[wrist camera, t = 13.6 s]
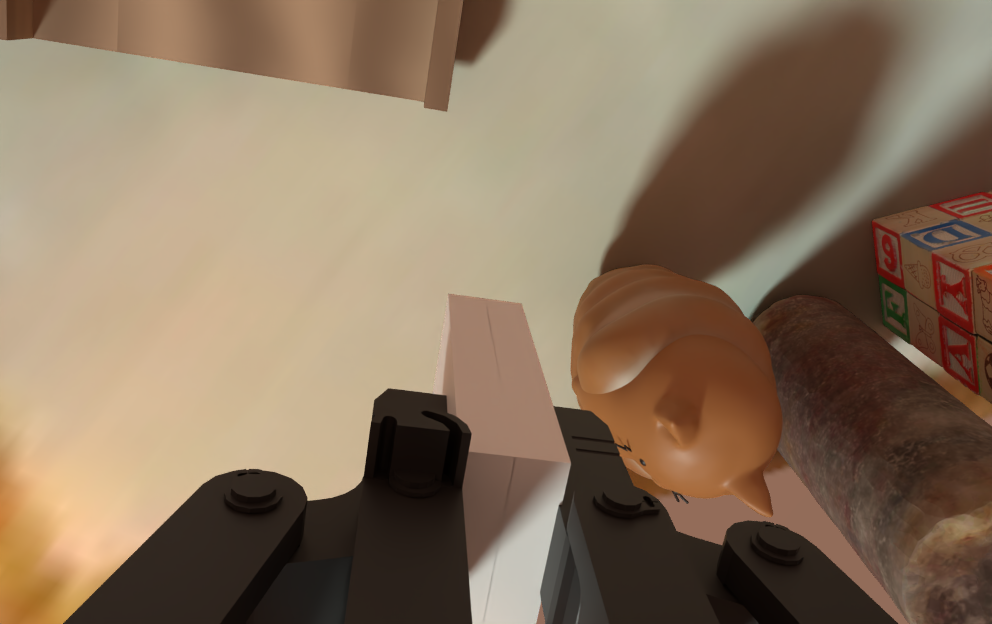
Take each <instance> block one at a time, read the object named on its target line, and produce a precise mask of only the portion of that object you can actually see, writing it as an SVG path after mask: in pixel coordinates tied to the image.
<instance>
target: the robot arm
mask: <svg viewBox="0 0 992 624" xmlns="http://www.w3.org/2000/svg"><path fill="white" fill-rule="evenodd" d="M614 442H615V441H614V438H613V436H612V434H611V431H610V429H609V427H608V425H607V424H606V423H604V422H603V421H602V420H601V419H600V418H599V417H597V416H596V415H595V414H594V413H593V412H592V411H588V410H580V409H571V408H563V407H555V406H553V404H552V400H551V397H550V394H549V391H548V387H547V384H546V381H545V378H544V375H543V371H542V368H541V365H540V362H539V358H538V355H537V352H536V349H535V346H534V342H533V339H532V336H531V333H530V329H529V326H528V323H527V320H526V317H525V313H524V310H523V307H522V304H521V303H513V302H506V301H499V300H491V299H484V298H477V297H469V296H462V295H454V294H448V299H447V305H446V311H445V318H444V324H443V331H442V337H441V343H440V350H439V356H438V363H437V369H436V375H435V382H434V388H433V394H430V393H422V392H414V391H405V390H397V389H387V390H386V391H385V392H384V393H382V394H381V395H380V396H379V397H378V398H376V399H375V400H374V407H373V415H372V421H371V427H370V434H369V442H368V449H367V457H366V464H365V472H364V476H363V479H362V481H361V482H360V483H359V485H358V486H357V487H356V488H354V489H353V490H351V491H349V492H347V493H345V494H343V495H340V496H336V497H333V498H328V499H321V500H313V501H307V496H306V494H305V491H304V489H303V487H302V486H300V485H299V484H298V483H297V482H295V481H294V480H293V479H291V478H289V477H286V476H284V475H281V474H278V473H275V472H270V471H262V470H259V469H249V470H246V469H244V470H236V471H232V472H228V473H225V474H221V475H218V476H215V477H214V478H212V479H210V480H209V481H207V482H206V483H204V484H203V485H202V486H201V487H200V488H199V489H198V490H197V491H196V492H195V493H194V494H193V495H192V496H191V497H190V498H189V499H188V500H187V501H186V502H185V503H184V504H183V505H182V506H181V507H180V508H179V509H178V510H177V511H176V512H175V513H174V514H173V515H172V516H171V517H170V518H169V519H168V520H167V521H166V522H165V523H164V524H163V525H162V526H161V527H159V528H158V529H157V530H156V531H155V532H154V533H153V534H152V535H151V536H150V537H149V538H148V539H147V540H146V541H145V542H144V543H143V544H142V545H141V546H140V547H139V548H138V549H137V550H136V551H135V552H134V553H133V554H132V555H131V556H130V557H129V558H128V559H127V560H126V561H125V562H124V563H123V564H122V565H121V566H120V567H119V568H118V569H117V570H116V571H115V572H114V573H113V574H112V575H111V576H110V577H109V578H108V579H107V580H106V581H105V582H104V583H103V584H102V585H101V586H100V587H99V588H98V589H97V590H96V591H95V592H94V593H93V594H92V595H91V596H90V597H89V598H88V599H87V600H86V601H85V602H84V603H83V604H82V605H81V606H80V607H79V608H78V609H77V610H76V611H75V612H74V613H73V614H72V615H71V616H70V617H69V618H68V619H67V620H66V621H65V622H64V623H63V624H536V622H537V617H538V613H539V608H540V603H541V601H542V607H543V612H544V617H545V624H898V623H897V622H896V621H895V620H894V619H893V618H892V617H891V616H890V615H888V614H887V613H886V612H885V611H884V610H883V609H882V608H881V607H880V606H879V605H878V604H877V603H876V602H874V600H872V598H870V597H869V596H868V595H867V594H866V593H865V592H864V591H863V590H862V589H861V588H860V587H859V586H858V585H857V584H856V583H855V582H853V581H852V580H851V579H850V578H849V577H848V576H847V575H846V574H845V573H844V572H843V571H842V570H840V568H838V567H837V566H836V565H835V564H834V563H833V562H832V561H831V560H830V559H829V558H828V557H827V556H826V555H825V554H824V553H823V552H821V550H819V549H818V548H817V547H816V546H815V545H813V544H812V543H810V542H809V541H808V540H807V539H805V538H804V537H803V536H801V535H799V534H797V533H795V532H793V531H790V530H789V529H788V528H786V527H784V526H781V525H778V524H776V525H774V523H770V522H766V521H763V522H758V521H744V522H738V523H734V524H733V525H732V526H731V527H730V528H728V529H727V531H726V535H725V539H724V542H723V545H718V544H715V543H712V542H708V541H705V540H702V539H698V538H695V537H692V536H689V535H686V534H683V533H680V532H678V531H676V529H675V527H674V525H673V522H672V520H671V518H670V516H669V514H668V512H667V510H666V509H665V507H664V506H663V505H662V503H661V502H660V501H659V500H658V499H657V498H655V497H654V496H652V495H651V494H649V493H648V492H646V491H644V490H642V489H640V488H637V487H635V486H634V485H633V483H632V481H631V478H630V476H629V474H628V471H627V469H626V467H625V464H624V462H623V459H622V457H620V452H619V450H618V448H617V445H616V444H614Z"/></svg>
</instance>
